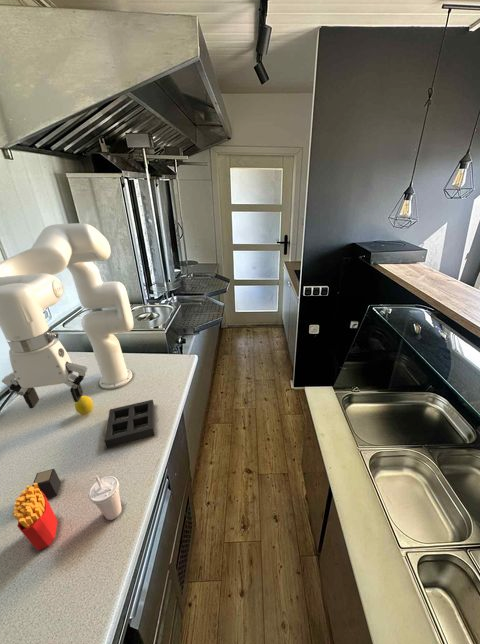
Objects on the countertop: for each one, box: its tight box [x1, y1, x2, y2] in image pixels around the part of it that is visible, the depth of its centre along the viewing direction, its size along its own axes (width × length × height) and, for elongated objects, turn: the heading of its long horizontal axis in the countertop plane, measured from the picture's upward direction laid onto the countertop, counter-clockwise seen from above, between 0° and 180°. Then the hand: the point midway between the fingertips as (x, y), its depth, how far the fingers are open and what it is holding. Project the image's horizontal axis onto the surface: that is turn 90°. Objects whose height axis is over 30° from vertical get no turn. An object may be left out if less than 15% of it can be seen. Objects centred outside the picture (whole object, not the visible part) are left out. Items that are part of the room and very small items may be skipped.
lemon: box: [74, 395, 94, 416], centre depth 102 cm, size 6×6×8 cm
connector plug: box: [31, 468, 62, 499], centre depth 77 cm, size 4×4×6 cm
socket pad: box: [103, 399, 156, 449], centre depth 98 cm, size 14×14×4 cm
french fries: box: [13, 482, 58, 551], centre depth 66 cm, size 9×4×13 cm, turn 25°
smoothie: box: [88, 474, 122, 521], centre depth 70 cm, size 6×6×14 cm
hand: (57, 401), depth 70 cm, fingers open, 9 cm apart
